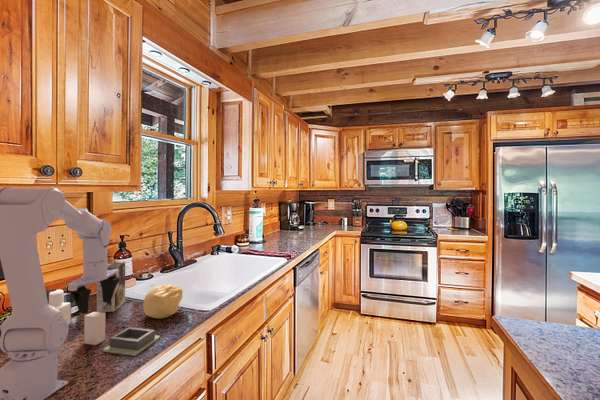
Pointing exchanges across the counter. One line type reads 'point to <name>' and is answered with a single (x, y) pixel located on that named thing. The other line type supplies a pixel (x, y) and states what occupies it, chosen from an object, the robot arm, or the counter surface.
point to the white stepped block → (59, 303)
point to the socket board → (131, 341)
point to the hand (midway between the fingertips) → (95, 307)
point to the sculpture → (162, 301)
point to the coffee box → (118, 293)
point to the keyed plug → (94, 328)
